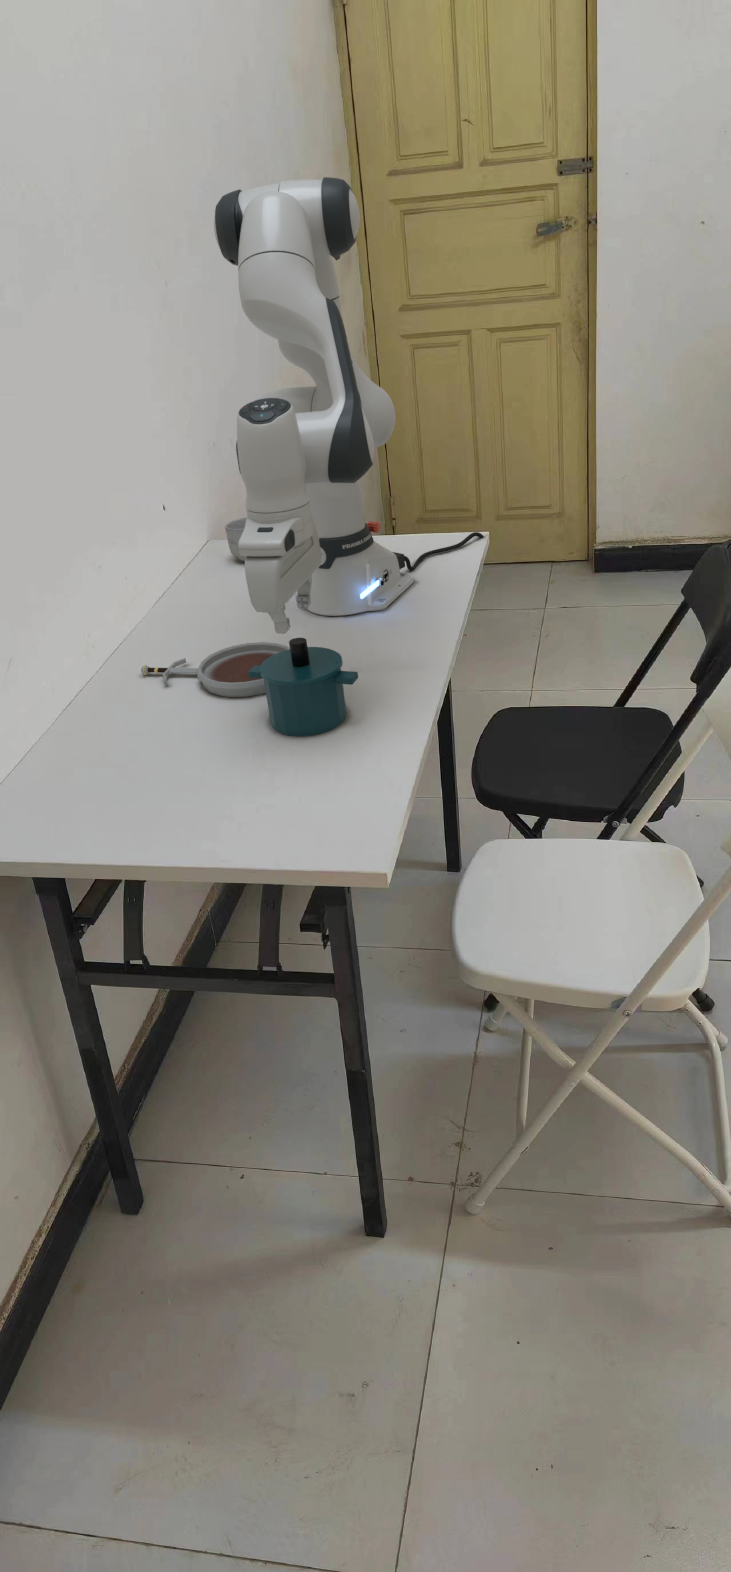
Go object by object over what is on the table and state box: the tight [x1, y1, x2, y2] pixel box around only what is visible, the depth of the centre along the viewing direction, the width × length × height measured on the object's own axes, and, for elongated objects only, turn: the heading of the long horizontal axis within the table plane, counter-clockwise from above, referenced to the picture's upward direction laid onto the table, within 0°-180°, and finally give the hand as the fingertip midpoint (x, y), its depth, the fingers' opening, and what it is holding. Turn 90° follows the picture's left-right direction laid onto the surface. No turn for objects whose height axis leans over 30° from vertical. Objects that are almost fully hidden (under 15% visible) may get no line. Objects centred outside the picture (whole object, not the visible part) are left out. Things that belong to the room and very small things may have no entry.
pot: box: [248, 665, 359, 737], centre depth 166 cm, size 11×17×8 cm
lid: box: [260, 637, 344, 685], centre depth 163 cm, size 12×12×5 cm
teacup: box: [224, 516, 247, 563], centre depth 235 cm, size 14×11×8 cm
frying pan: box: [140, 641, 290, 698], centre depth 185 cm, size 17×3×28 cm
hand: (294, 618), depth 160 cm, fingers open, 8 cm apart
